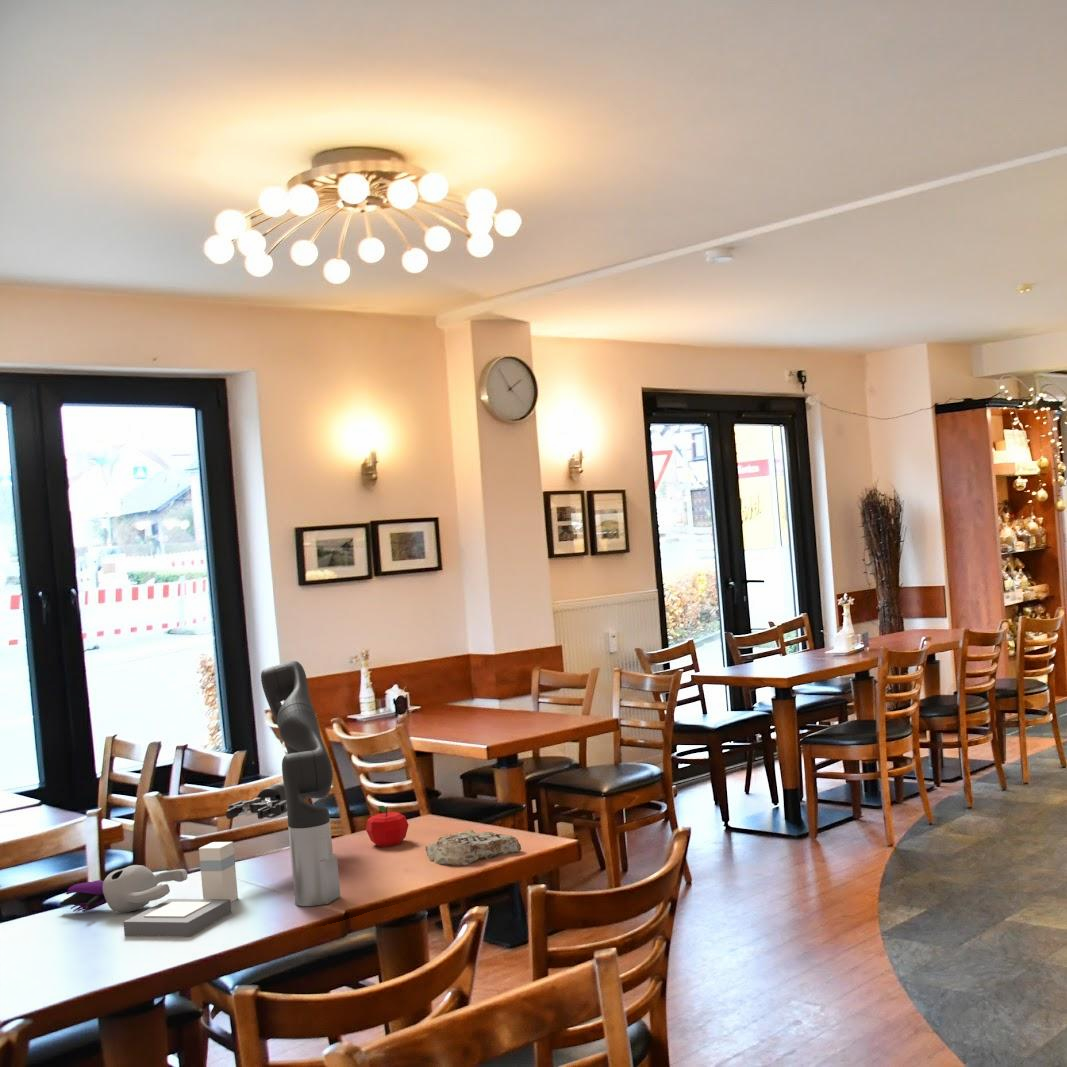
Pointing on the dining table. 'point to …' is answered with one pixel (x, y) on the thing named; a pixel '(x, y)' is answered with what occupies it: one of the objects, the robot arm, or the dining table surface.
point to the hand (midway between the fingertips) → (243, 814)
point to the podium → (177, 917)
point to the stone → (470, 847)
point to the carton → (218, 871)
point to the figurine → (123, 889)
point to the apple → (387, 828)
